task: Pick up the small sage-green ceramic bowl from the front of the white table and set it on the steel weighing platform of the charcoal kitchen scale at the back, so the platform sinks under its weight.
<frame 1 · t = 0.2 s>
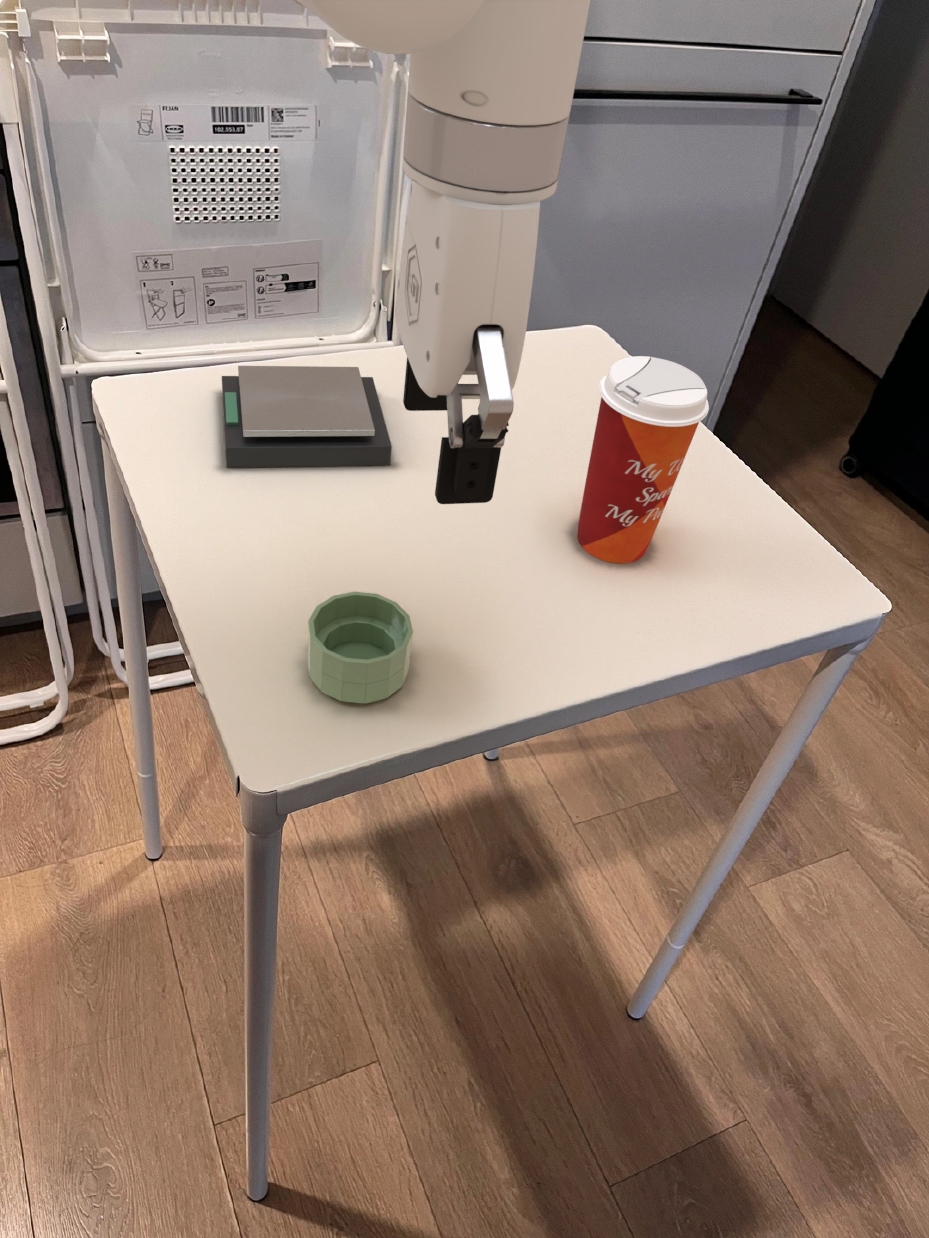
hand: (444, 451, 56), 16 cm above the table, tool pointing down, fingers open, 9 cm apart
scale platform: (304, 399, 84), point 3 cm above the table, slide at 0.0 cm
scale base: (303, 429, 86), on the table
bowl: (357, 670, 65), on the table
coffee cup: (611, 542, 79), on the table
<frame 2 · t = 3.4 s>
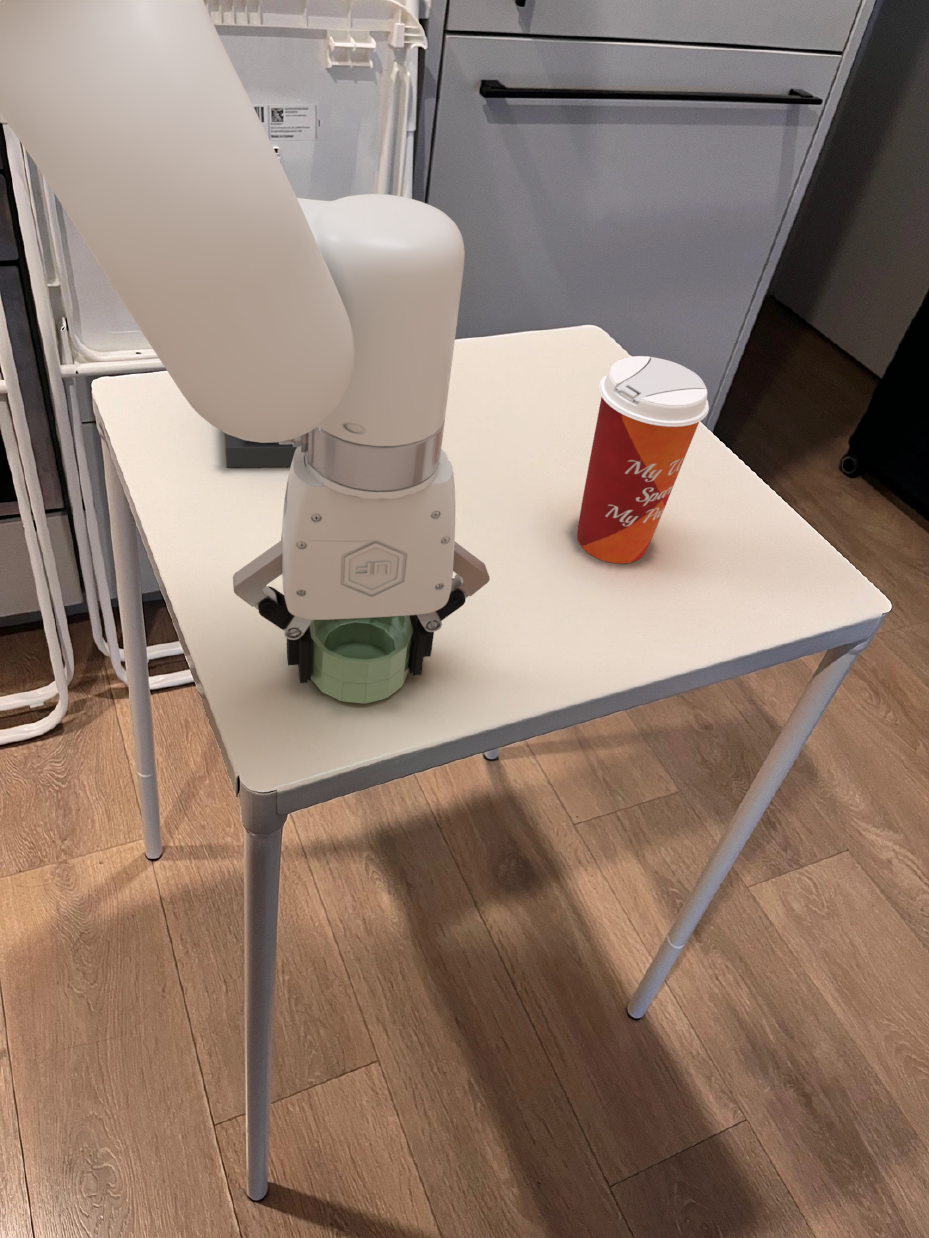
hand: (358, 662, 64), 1 cm above the table, tool pointing down, fingers closed on bowl, 6 cm apart
bowl: (358, 670, 65), on the table, touching gripper
everything else where it was.
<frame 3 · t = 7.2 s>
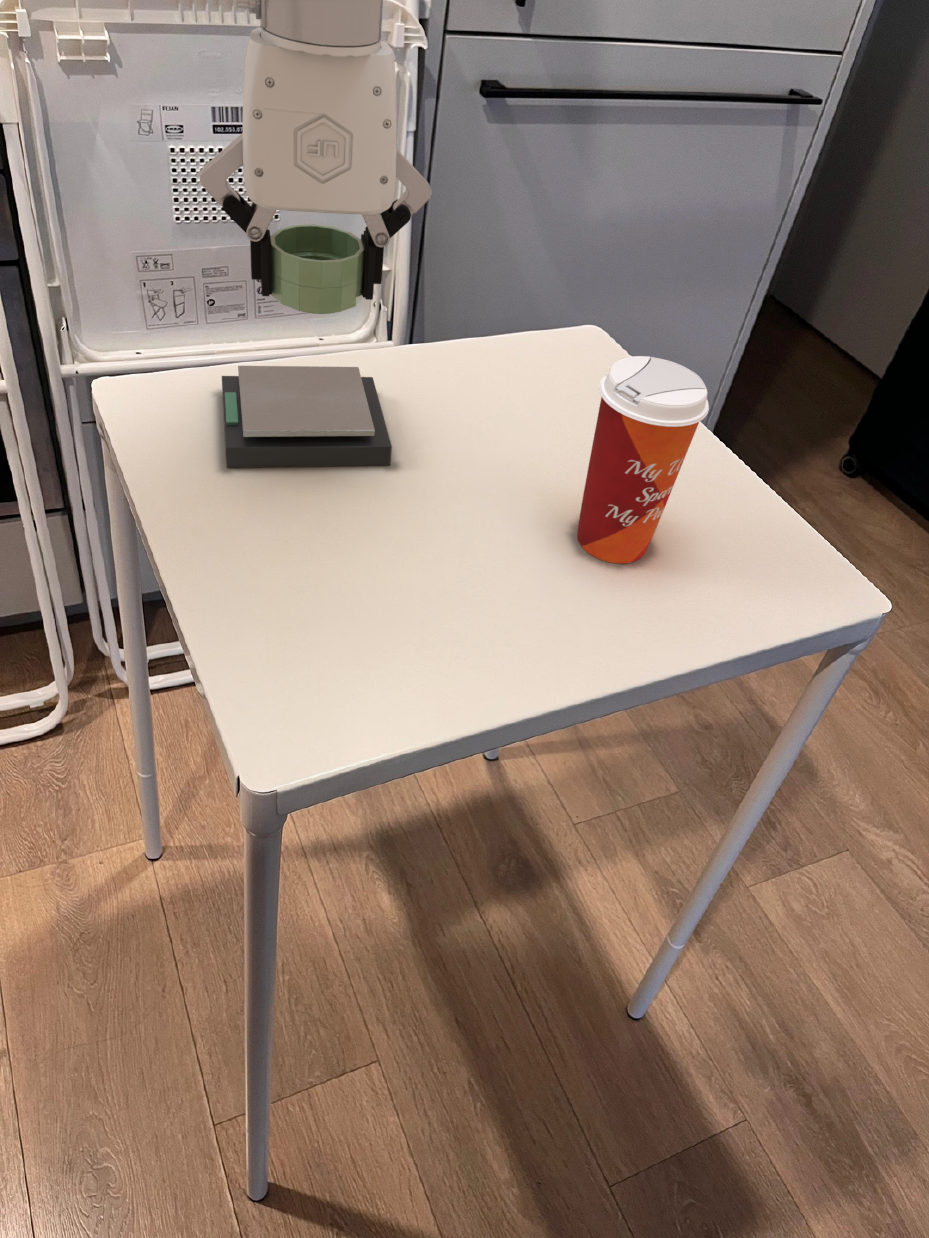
hand: (316, 288, 71), 16 cm above the table, tool pointing down, fingers closed on bowl, 6 cm apart
bowl: (316, 298, 72), point 15 cm above the table, touching gripper
everything else where it was.
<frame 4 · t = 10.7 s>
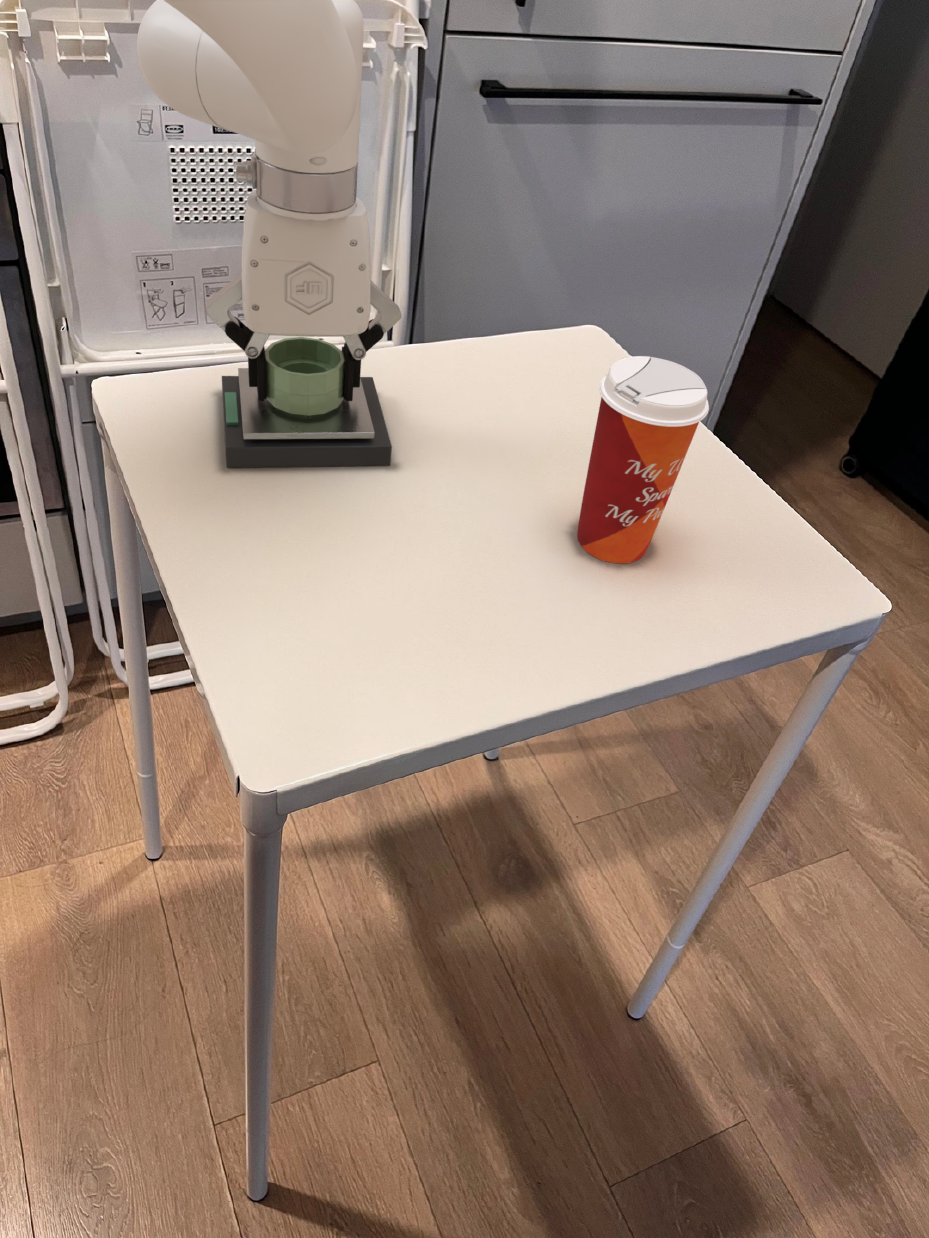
hand: (304, 391, 83), 4 cm above the table, tool pointing down, fingers closed on bowl, 6 cm apart
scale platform: (304, 402, 84), point 3 cm above the table, slide at -0.2 cm, touching bowl
bowl: (304, 399, 84), point 3 cm above the table, touching gripper, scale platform
everything else where it was.
when the fingers open (4 cm above the table, at t = 10.9 s): bowl stays where it is, resting on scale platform.
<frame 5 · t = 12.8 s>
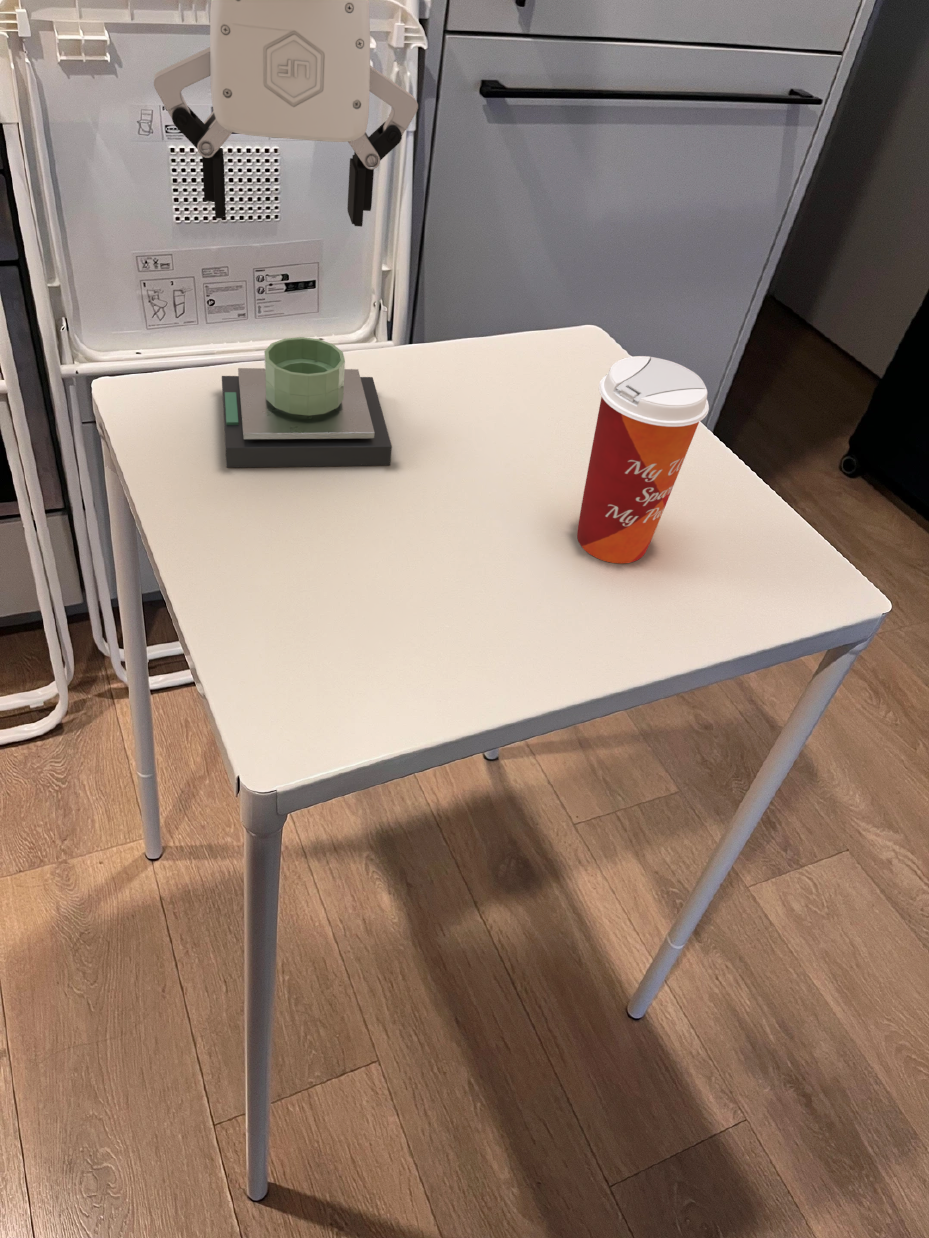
hand: (288, 216, 69), 21 cm above the table, tool pointing down, fingers open, 9 cm apart
bowl: (304, 399, 84), point 3 cm above the table, touching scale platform
everything else where it was.
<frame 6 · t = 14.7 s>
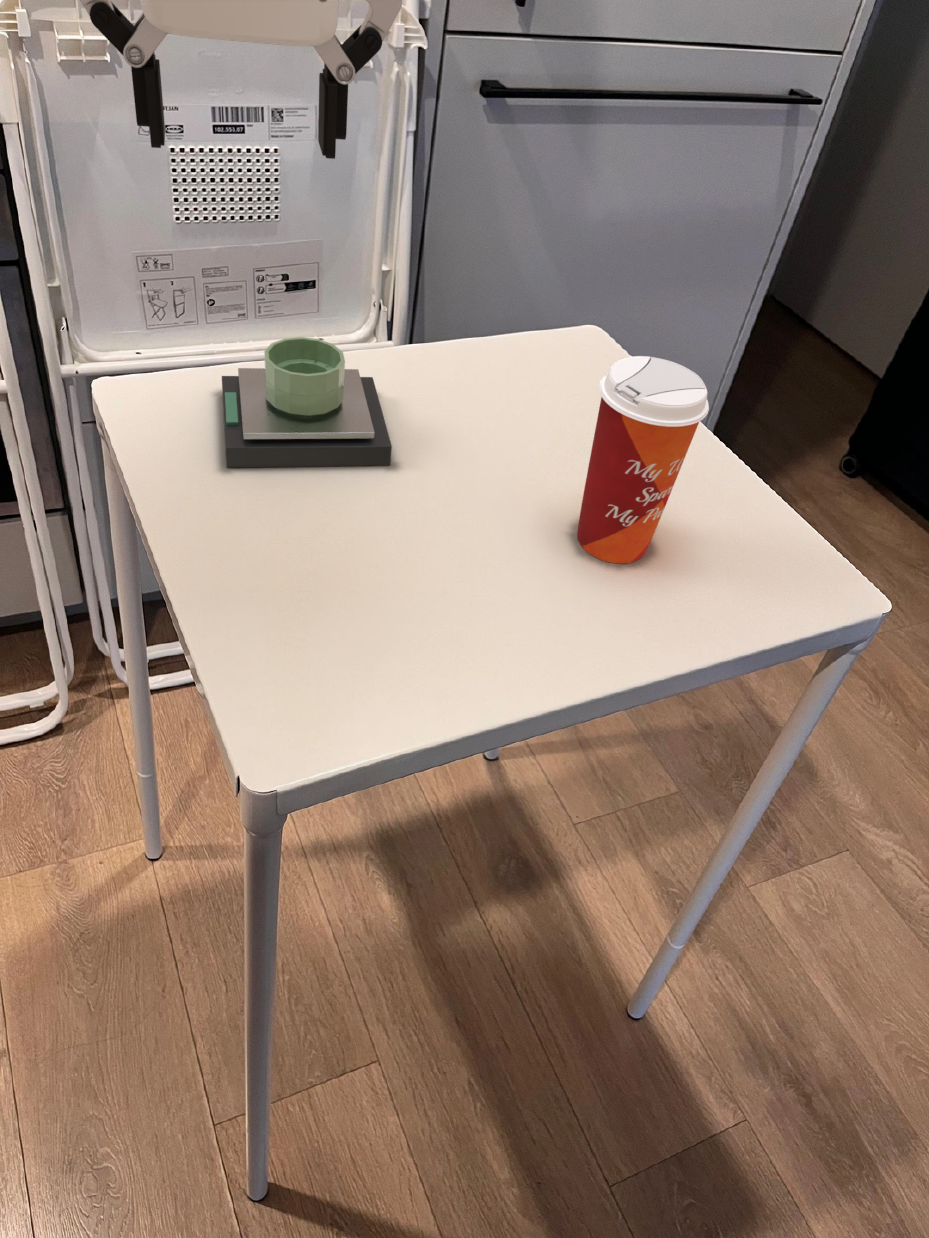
hand: (244, 146, 56), 28 cm above the table, tool pointing down, fingers open, 9 cm apart
nothing on the table moved.
at the end: bowl inside the target area on the scale base (0.0 cm from its centre), point 3.1 cm above the scale base's base; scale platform slide at -0.2 cm; bowl tilted 0° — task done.
